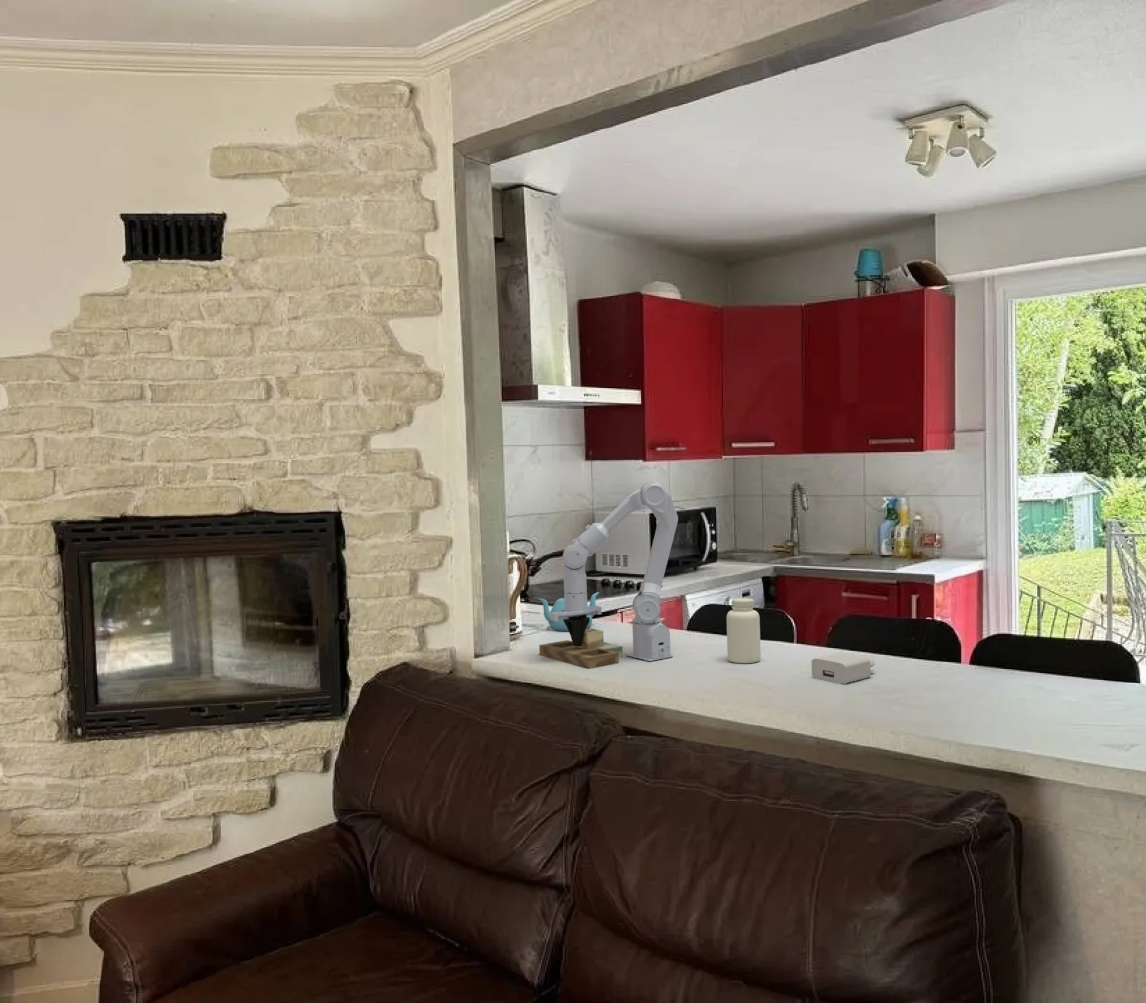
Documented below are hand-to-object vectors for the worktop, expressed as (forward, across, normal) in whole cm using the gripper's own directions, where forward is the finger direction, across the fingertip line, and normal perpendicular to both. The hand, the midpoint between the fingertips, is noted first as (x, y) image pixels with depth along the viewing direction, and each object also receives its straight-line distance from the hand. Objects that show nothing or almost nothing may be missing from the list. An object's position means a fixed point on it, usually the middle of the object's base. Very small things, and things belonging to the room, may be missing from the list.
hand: (577, 645), depth 239 cm
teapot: (+4, -23, -35) cm, 42 cm away
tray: (+3, -3, 0) cm, 4 cm away
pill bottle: (+3, -29, +30) cm, 42 cm away
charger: (+4, -35, +57) cm, 67 cm away
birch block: (+1, -4, 0) cm, 4 cm away
